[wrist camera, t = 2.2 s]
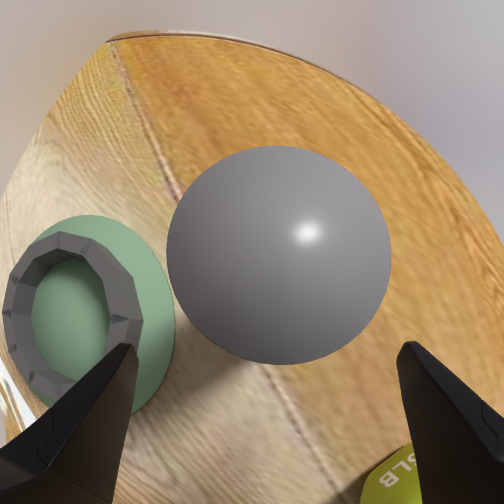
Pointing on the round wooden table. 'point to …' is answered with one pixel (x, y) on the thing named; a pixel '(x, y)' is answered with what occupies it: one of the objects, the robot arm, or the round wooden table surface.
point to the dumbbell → (394, 480)
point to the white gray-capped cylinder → (278, 255)
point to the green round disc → (87, 306)
